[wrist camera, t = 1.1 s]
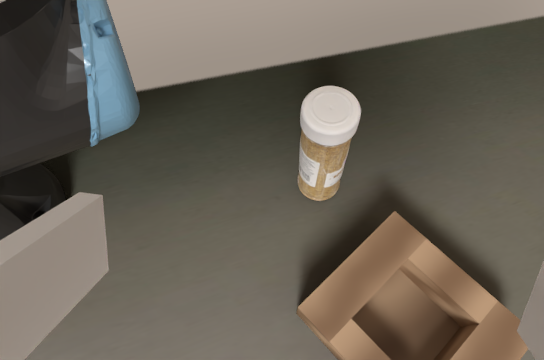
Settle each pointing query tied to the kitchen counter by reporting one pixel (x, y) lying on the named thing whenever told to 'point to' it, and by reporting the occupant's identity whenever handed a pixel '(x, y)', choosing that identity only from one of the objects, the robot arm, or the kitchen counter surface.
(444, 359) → the brown wooden square frame
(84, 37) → the robot arm
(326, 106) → the sprinkles bottle
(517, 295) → the kitchen counter surface
